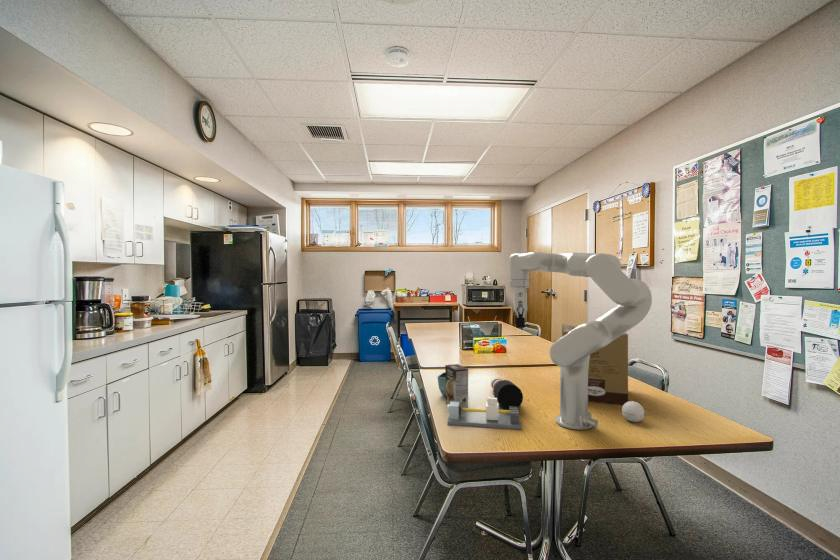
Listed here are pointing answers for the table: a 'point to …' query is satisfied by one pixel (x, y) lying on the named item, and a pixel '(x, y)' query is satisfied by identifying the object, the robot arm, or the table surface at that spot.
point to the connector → (454, 410)
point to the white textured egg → (633, 411)
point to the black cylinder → (506, 393)
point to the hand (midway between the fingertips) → (519, 326)
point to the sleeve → (492, 409)
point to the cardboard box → (607, 371)
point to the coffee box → (456, 384)
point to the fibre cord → (483, 410)
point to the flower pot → (442, 383)
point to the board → (480, 420)
